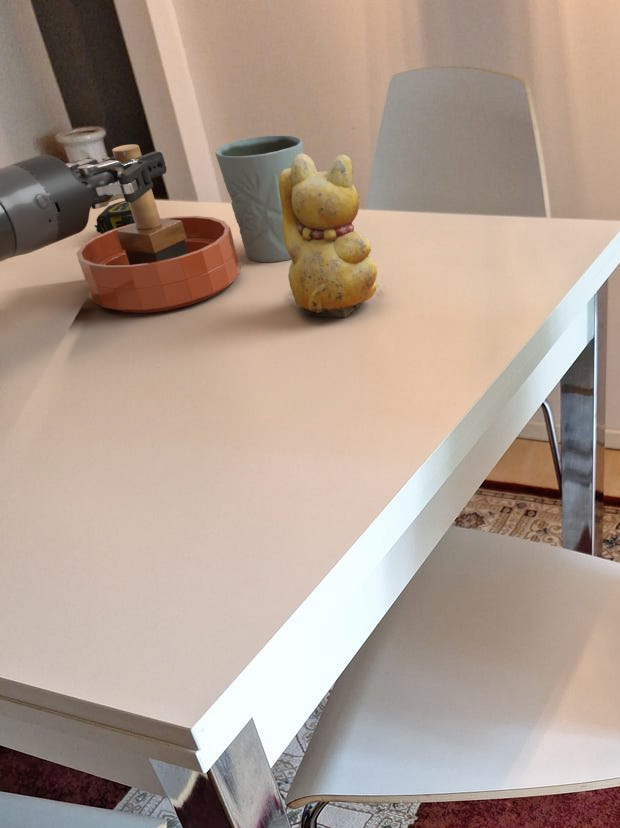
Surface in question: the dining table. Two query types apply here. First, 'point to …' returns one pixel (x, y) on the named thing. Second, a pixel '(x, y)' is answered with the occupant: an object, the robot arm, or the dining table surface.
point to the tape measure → (114, 217)
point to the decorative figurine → (325, 238)
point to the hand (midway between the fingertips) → (150, 161)
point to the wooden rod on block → (148, 225)
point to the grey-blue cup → (258, 191)
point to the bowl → (161, 269)
